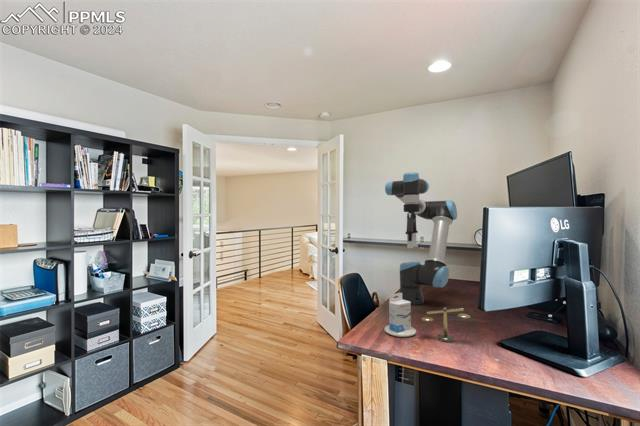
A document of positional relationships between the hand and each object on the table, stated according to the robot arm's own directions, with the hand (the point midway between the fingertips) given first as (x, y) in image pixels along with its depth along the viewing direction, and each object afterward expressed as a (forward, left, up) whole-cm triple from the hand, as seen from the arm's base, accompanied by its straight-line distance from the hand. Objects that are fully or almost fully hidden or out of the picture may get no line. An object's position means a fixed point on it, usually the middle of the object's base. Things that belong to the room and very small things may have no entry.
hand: (412, 246), depth 149 cm
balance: (+23, +15, -35) cm, 44 cm away
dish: (+22, -3, -35) cm, 41 cm away
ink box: (+22, -3, -34) cm, 40 cm away
